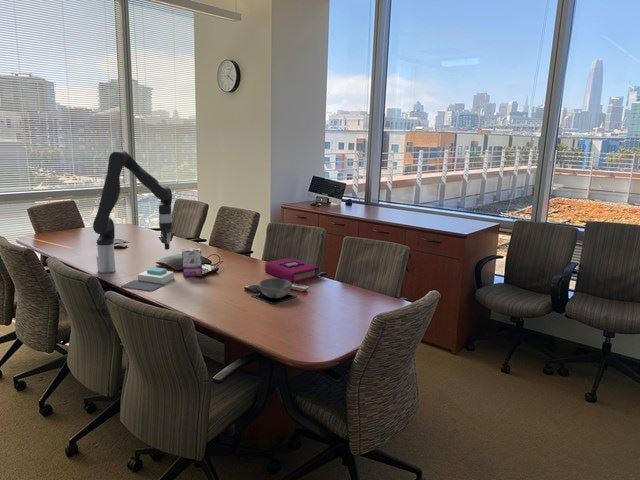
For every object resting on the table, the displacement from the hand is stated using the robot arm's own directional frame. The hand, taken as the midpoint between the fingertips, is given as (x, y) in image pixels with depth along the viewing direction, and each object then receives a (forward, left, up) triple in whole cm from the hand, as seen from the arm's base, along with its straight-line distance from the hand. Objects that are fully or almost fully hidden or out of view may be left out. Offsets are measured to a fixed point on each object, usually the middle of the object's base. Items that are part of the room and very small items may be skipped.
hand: (167, 249), depth 287 cm
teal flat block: (0, -11, -12) cm, 16 cm away
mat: (0, -24, -16) cm, 29 cm away
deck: (0, -12, -16) cm, 20 cm away
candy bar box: (+15, +3, -16) cm, 22 cm away
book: (+70, +27, -16) cm, 77 cm away
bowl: (+75, -12, -16) cm, 78 cm away
